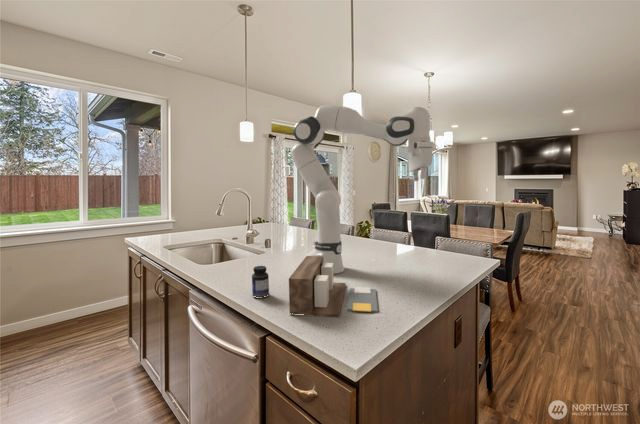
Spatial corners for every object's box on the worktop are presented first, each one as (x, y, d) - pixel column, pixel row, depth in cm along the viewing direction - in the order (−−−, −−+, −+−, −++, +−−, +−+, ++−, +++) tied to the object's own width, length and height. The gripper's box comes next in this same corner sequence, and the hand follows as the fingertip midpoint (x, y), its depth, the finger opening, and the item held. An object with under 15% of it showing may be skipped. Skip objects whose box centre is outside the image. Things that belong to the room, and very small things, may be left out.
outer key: (328, 300, 106) (328, 275, 105) (326, 307, 100) (326, 280, 99) (317, 300, 106) (317, 274, 105) (314, 307, 100) (314, 280, 99)
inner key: (333, 285, 121) (333, 263, 120) (331, 290, 115) (331, 267, 114) (323, 284, 122) (323, 262, 121) (321, 290, 116) (321, 267, 115)
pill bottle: (253, 293, 117) (252, 265, 116) (269, 292, 118) (268, 264, 117) (251, 299, 111) (250, 270, 110) (268, 298, 112) (267, 269, 111)
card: (375, 289, 119) (375, 287, 119) (377, 313, 97) (377, 311, 97) (349, 288, 120) (349, 286, 120) (346, 312, 99) (346, 309, 99)
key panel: (345, 285, 125) (345, 256, 123) (339, 317, 95) (338, 280, 94) (307, 283, 127) (306, 255, 126) (289, 314, 98) (288, 278, 96)
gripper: (405, 151, 138) (405, 182, 138) (418, 141, 118) (419, 177, 118) (419, 151, 138) (419, 182, 138) (435, 141, 117) (435, 177, 118)
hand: (419, 180), depth 128 cm, fingers open, 8 cm apart
